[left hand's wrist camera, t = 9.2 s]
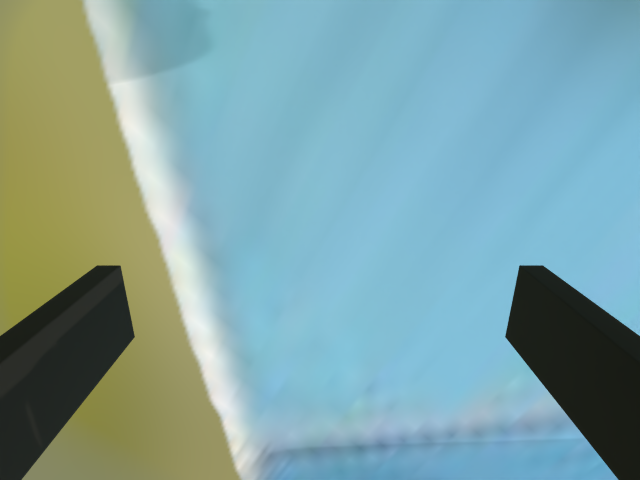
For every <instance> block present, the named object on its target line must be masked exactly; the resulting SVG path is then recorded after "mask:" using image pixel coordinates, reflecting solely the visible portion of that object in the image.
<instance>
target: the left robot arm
mask: <svg viewBox="0 0 640 480" xmlns="http://www.w3.org/2000/svg"><path fill="white" fill-rule="evenodd" d="M134 337H135V336H134V331H133V326H132V321H131V316H130V311H129V306H128V301H127V297H126V291H125V286H124V281H123V276H122V271H121V266H96V267H95V268H93V269H92V270H91V271H89V272H88V273H86V274H85V275H84V276H82V277H81V278H79V279H78V280H77V281H75V282H74V283H73V284H71V285H70V286H69V287H67V288H66V289H64V290H63V291H62V292H60V293H59V294H58V295H56V296H55V297H53V298H52V299H51V300H49V301H48V302H46V303H45V304H44V305H42V306H41V307H40V308H38V309H37V310H36V311H34V312H33V313H31V314H30V315H29V316H27V317H26V318H25V319H23V320H22V321H20V322H19V323H18V324H16V325H15V326H14V327H12V328H11V329H9V330H8V331H7V332H5V333H4V334H3V335H1V336H0V480H22V478H23V477H24V476H25V475H26V473H27V472H28V471H29V469H30V468H31V467H32V466H33V464H34V463H35V462H36V461H37V459H38V458H39V457H40V456H41V454H42V453H43V452H44V451H45V449H46V448H47V447H48V445H49V444H50V443H51V442H52V440H53V439H54V438H55V437H56V435H57V434H58V433H59V432H60V430H61V429H62V428H63V427H64V425H65V424H66V423H67V422H68V420H69V419H70V418H71V417H72V415H73V414H74V413H75V411H76V410H77V409H78V408H79V406H80V405H81V404H82V403H83V401H84V400H85V399H86V398H87V396H88V395H89V394H90V392H91V391H92V390H93V389H94V388H95V386H96V385H97V384H98V382H99V381H100V380H101V379H102V377H103V376H104V375H105V374H106V372H107V371H108V370H109V369H110V367H111V366H112V365H113V364H114V362H115V361H116V360H117V359H118V357H119V356H120V355H121V353H122V352H123V351H124V350H125V348H126V347H127V346H128V345H129V343H130V342H131V341H132V340H133V338H134ZM505 337H506V338H507V340H508V341H509V342H510V343H511V345H512V346H513V347H514V348H515V350H516V351H517V352H518V354H519V355H520V356H521V357H522V359H523V360H524V361H525V362H526V364H527V365H528V366H529V367H530V369H531V370H532V371H533V372H534V374H535V375H536V376H537V377H538V379H539V380H540V381H541V382H542V384H543V385H544V386H545V388H546V389H547V390H548V391H549V393H550V394H551V395H552V396H553V398H554V399H555V400H556V401H557V403H558V404H559V405H560V406H561V408H562V409H563V410H564V411H565V413H566V414H567V415H568V417H569V418H570V419H571V420H572V422H573V423H574V424H575V425H576V427H577V428H578V429H579V430H580V432H581V433H582V434H583V435H584V437H585V438H586V439H587V440H588V442H589V443H590V444H591V446H592V447H593V448H594V449H595V451H596V452H597V453H598V454H599V456H600V457H601V458H602V459H603V461H604V462H605V463H606V464H607V466H608V467H609V468H610V469H611V471H612V472H613V473H614V475H615V476H616V477H617V478H618V480H640V336H639V335H637V334H636V333H635V332H633V331H632V330H631V329H629V328H628V327H626V326H625V325H624V324H622V323H621V322H620V321H618V320H617V319H615V318H614V317H613V316H611V315H610V314H609V313H607V312H606V311H605V310H603V309H602V308H600V307H599V306H598V305H596V304H595V303H594V302H592V301H591V300H589V299H588V298H587V297H585V296H584V295H583V294H581V293H580V292H578V291H577V290H576V289H574V288H573V287H572V286H570V285H569V284H567V283H566V282H565V281H563V280H562V279H561V278H559V277H558V276H556V275H555V274H554V273H552V272H551V271H550V270H548V269H547V268H545V267H544V266H519V271H518V276H517V281H516V286H515V291H514V296H513V301H512V306H511V311H510V316H509V321H508V326H507V331H506V336H505Z"/></svg>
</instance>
